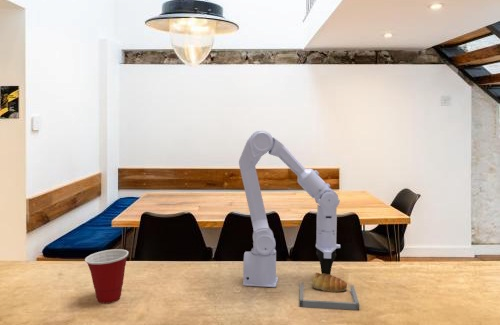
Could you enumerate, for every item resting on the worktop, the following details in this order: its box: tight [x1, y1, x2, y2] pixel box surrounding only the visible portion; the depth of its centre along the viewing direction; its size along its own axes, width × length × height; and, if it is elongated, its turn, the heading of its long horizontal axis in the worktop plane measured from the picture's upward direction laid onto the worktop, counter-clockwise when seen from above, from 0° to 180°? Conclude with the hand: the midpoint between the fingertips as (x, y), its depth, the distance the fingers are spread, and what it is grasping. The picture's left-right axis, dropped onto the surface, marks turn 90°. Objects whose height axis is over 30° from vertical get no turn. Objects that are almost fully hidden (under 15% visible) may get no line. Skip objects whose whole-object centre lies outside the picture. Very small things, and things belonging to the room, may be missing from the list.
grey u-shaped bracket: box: [299, 282, 360, 311], centre depth 110 cm, size 15×13×2 cm
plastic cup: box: [84, 248, 129, 304], centre depth 108 cm, size 11×11×12 cm
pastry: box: [311, 272, 348, 293], centre depth 117 cm, size 9×7×4 cm
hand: (325, 275), depth 121 cm, fingers closed
